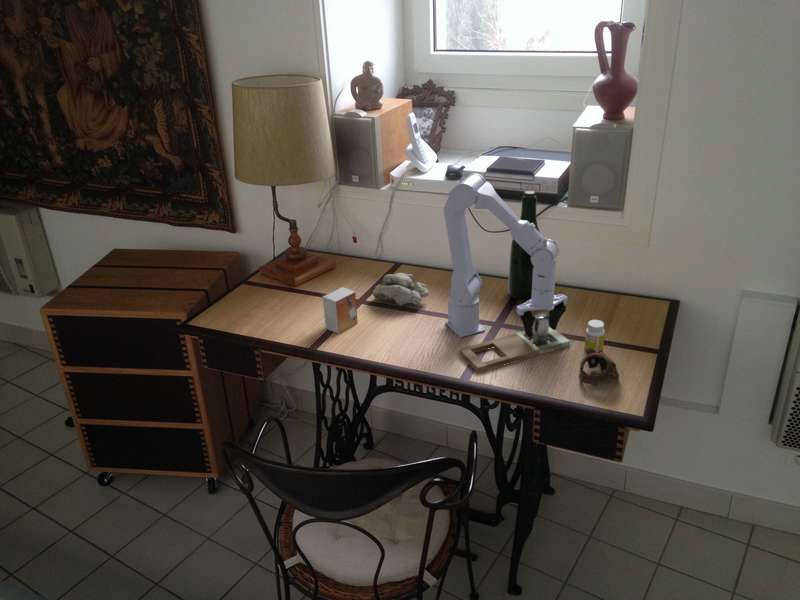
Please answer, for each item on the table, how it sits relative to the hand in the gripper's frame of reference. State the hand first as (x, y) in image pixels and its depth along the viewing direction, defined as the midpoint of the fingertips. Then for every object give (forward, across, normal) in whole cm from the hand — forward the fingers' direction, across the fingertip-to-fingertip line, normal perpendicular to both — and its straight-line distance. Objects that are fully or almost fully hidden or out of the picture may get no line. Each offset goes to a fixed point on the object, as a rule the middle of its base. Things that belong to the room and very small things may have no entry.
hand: (540, 331), depth 183 cm
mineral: (+4, -23, +40) cm, 46 cm away
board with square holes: (+3, -8, 0) cm, 9 cm away
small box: (+4, -45, +34) cm, 57 cm away
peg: (+3, 0, 0) cm, 3 cm away
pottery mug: (+4, +3, -20) cm, 21 cm away
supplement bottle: (+4, +10, -10) cm, 15 cm away
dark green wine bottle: (+4, +12, +26) cm, 29 cm away
